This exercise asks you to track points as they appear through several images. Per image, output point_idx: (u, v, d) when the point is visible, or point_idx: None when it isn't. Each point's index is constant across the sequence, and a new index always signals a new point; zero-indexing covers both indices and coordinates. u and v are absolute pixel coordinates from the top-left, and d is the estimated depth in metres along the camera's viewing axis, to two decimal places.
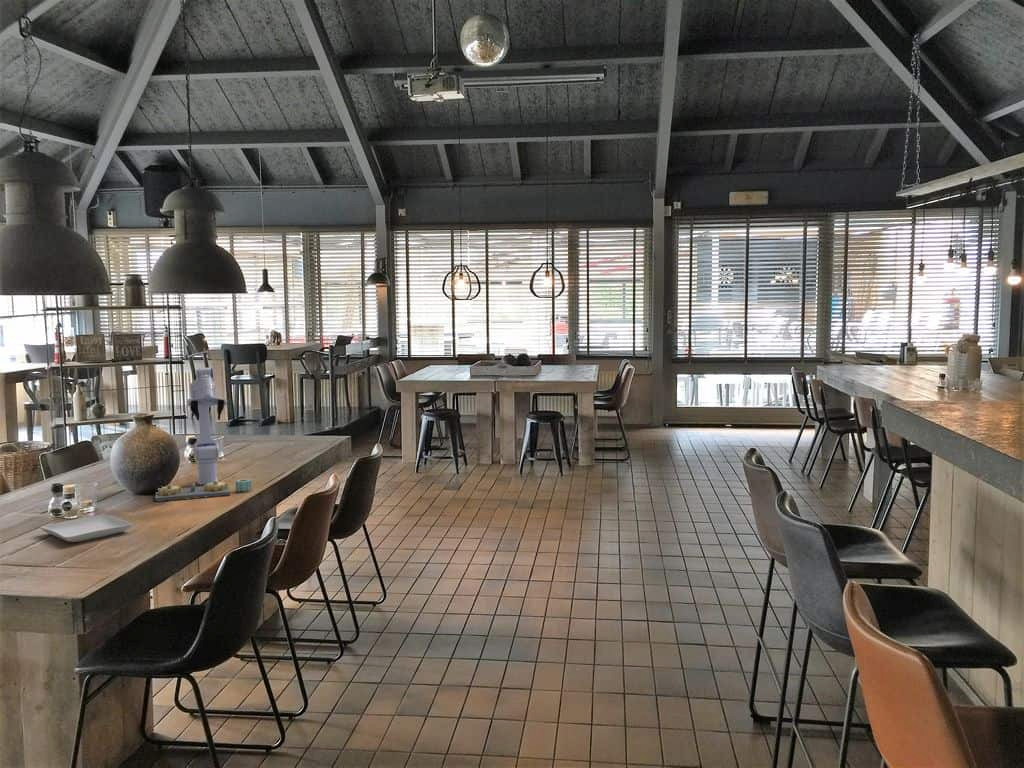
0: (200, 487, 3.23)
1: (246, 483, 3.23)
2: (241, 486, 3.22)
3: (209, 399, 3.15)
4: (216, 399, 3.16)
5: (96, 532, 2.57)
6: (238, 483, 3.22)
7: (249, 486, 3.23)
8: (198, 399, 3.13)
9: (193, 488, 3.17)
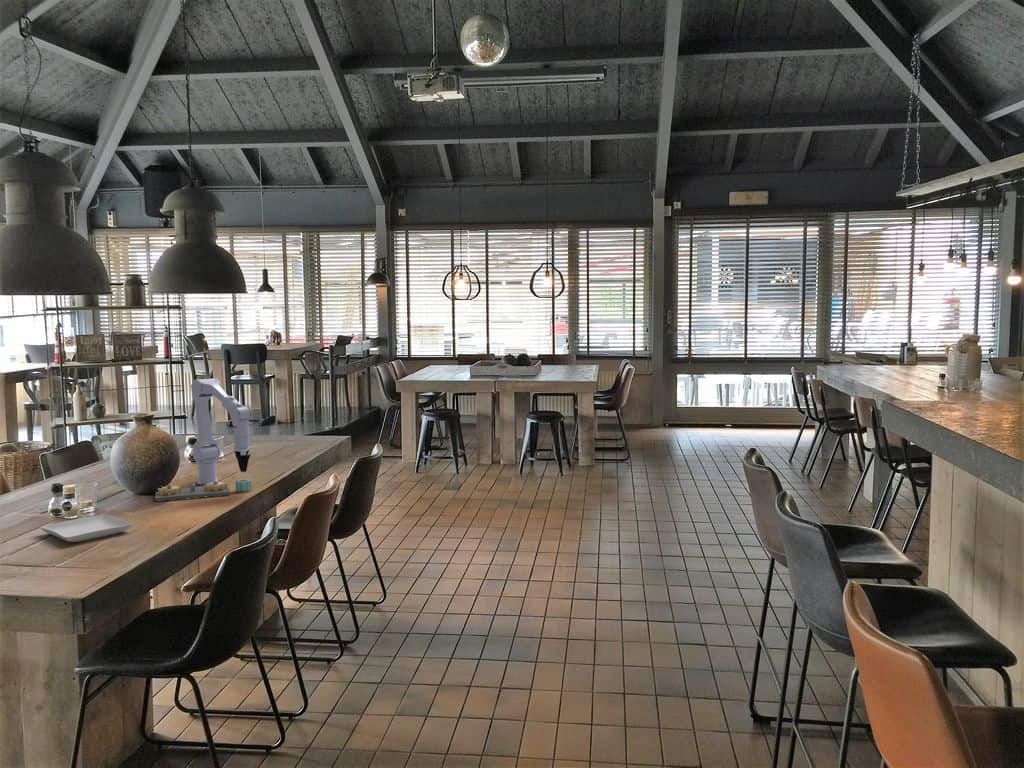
0: (200, 487, 3.23)
1: (246, 483, 3.23)
2: (241, 486, 3.22)
3: None
4: None
5: (96, 532, 2.57)
6: (238, 483, 3.22)
7: (249, 486, 3.23)
8: None
9: (193, 488, 3.17)
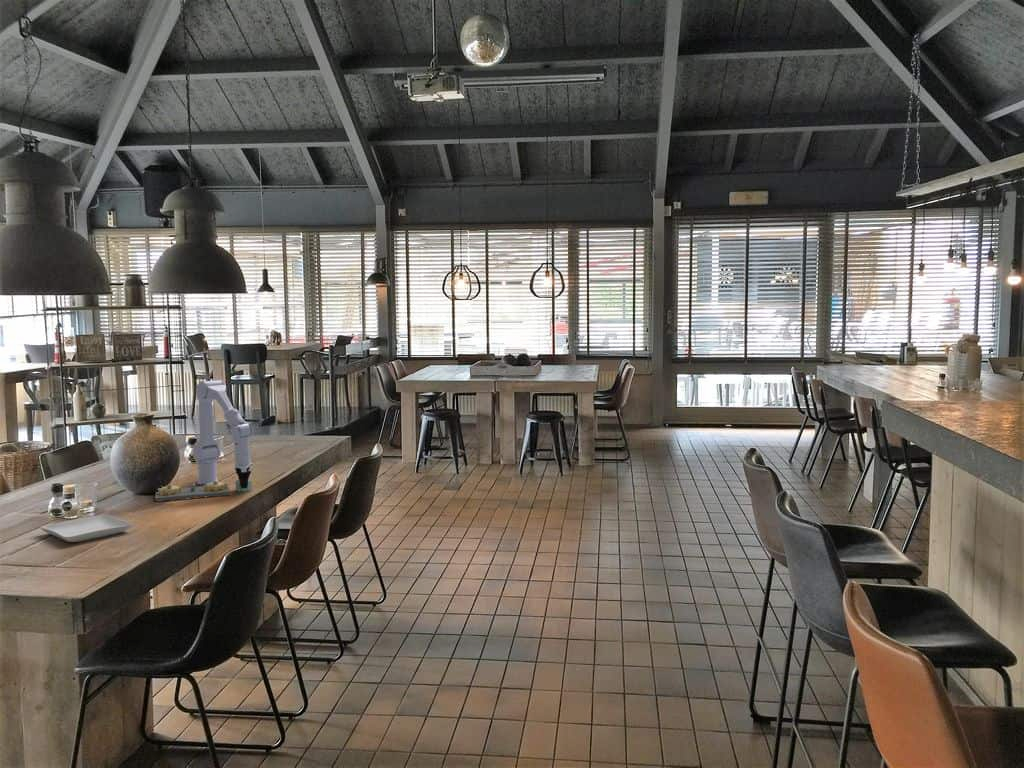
0: (200, 487, 3.23)
1: None
2: None
3: None
4: None
5: (96, 532, 2.57)
6: (238, 483, 3.22)
7: (249, 486, 3.23)
8: (247, 467, 3.21)
9: (193, 488, 3.17)
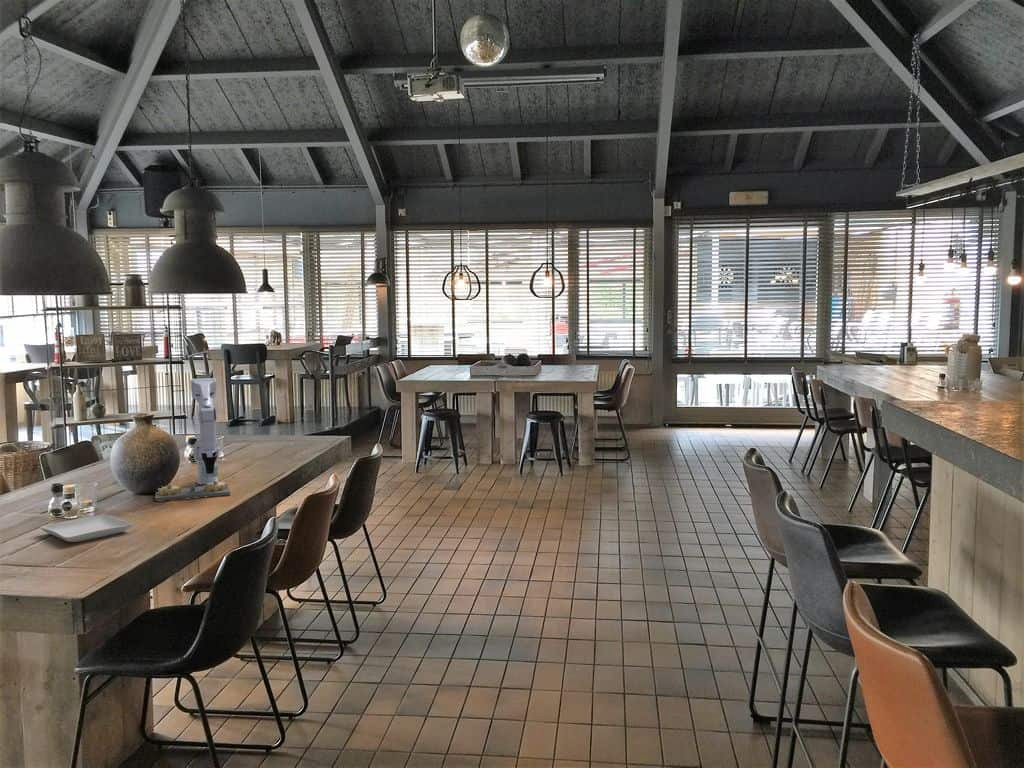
0: (200, 487, 3.23)
1: None
2: None
3: None
4: None
5: (96, 532, 2.57)
6: (204, 468, 3.16)
7: (215, 471, 3.18)
8: None
9: (193, 488, 3.17)
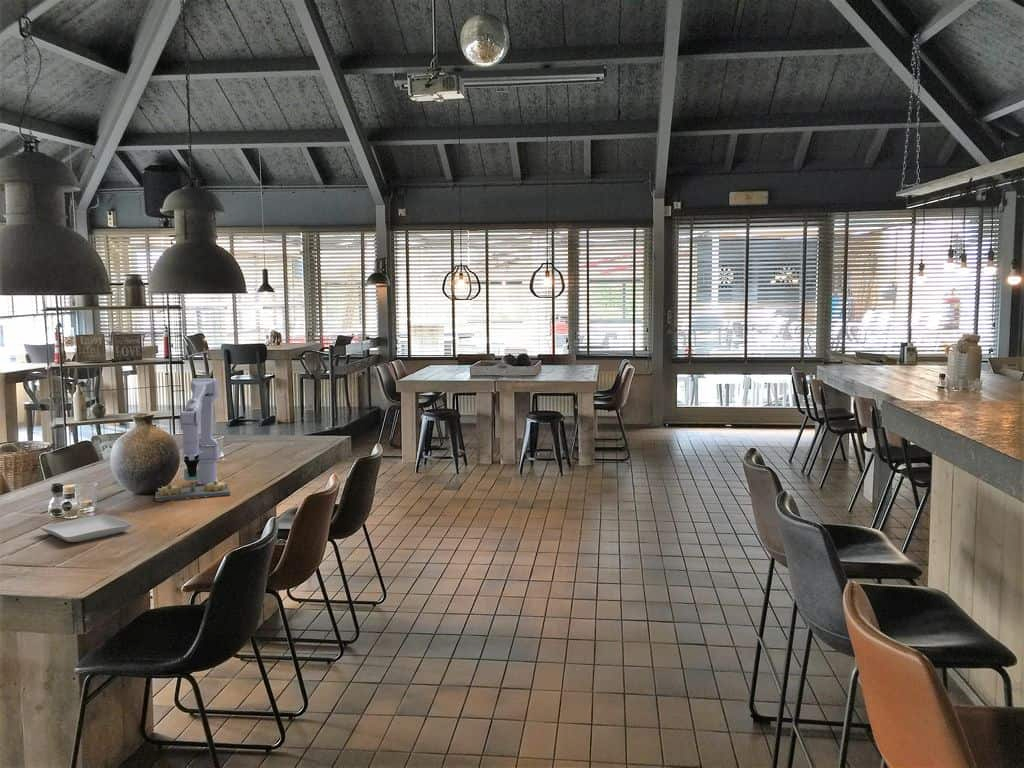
0: (200, 487, 3.23)
1: None
2: None
3: None
4: None
5: (96, 532, 2.57)
6: (186, 472, 3.14)
7: (198, 475, 3.16)
8: (195, 455, 3.13)
9: (193, 488, 3.17)
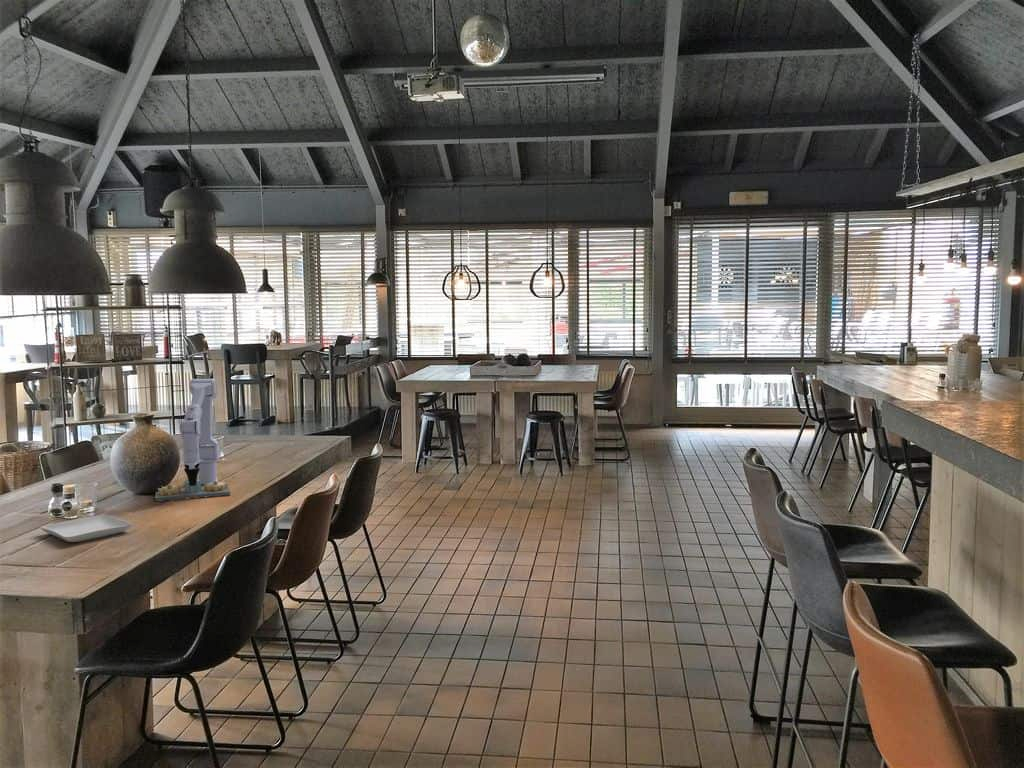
0: None
1: None
2: (190, 487, 3.15)
3: None
4: None
5: (96, 532, 2.57)
6: (187, 483, 3.14)
7: (198, 487, 3.16)
8: (196, 463, 3.14)
9: None
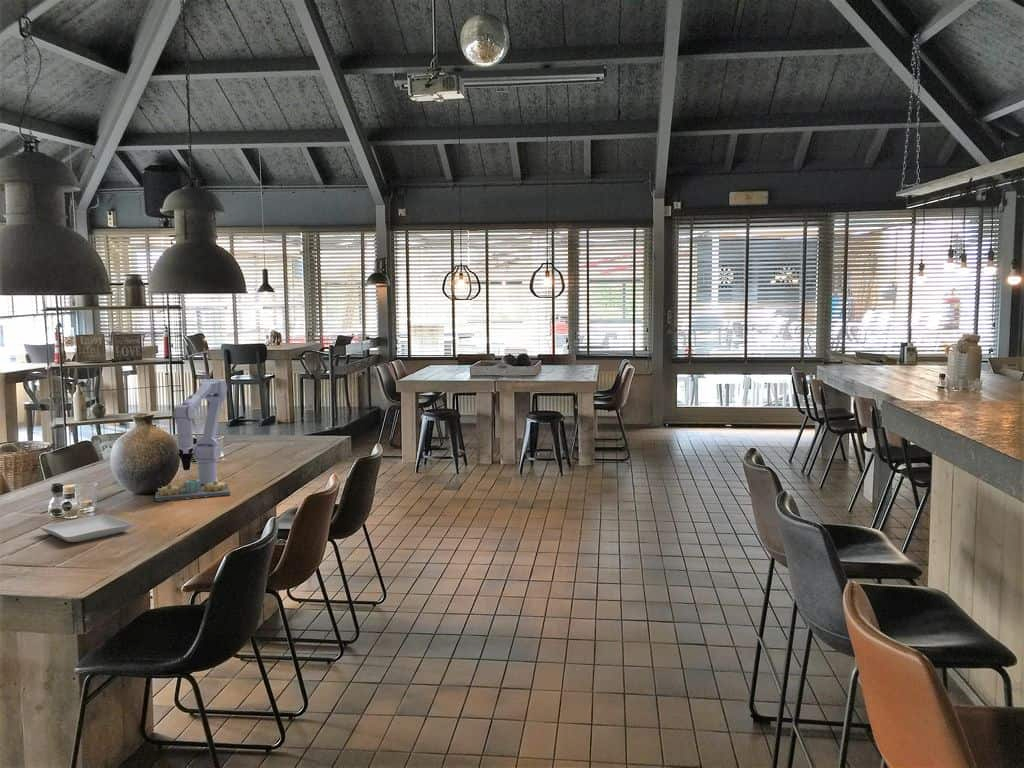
0: None
1: (195, 483, 3.15)
2: (190, 487, 3.15)
3: None
4: None
5: (96, 532, 2.57)
6: (187, 483, 3.14)
7: (198, 487, 3.16)
8: (189, 448, 3.19)
9: None
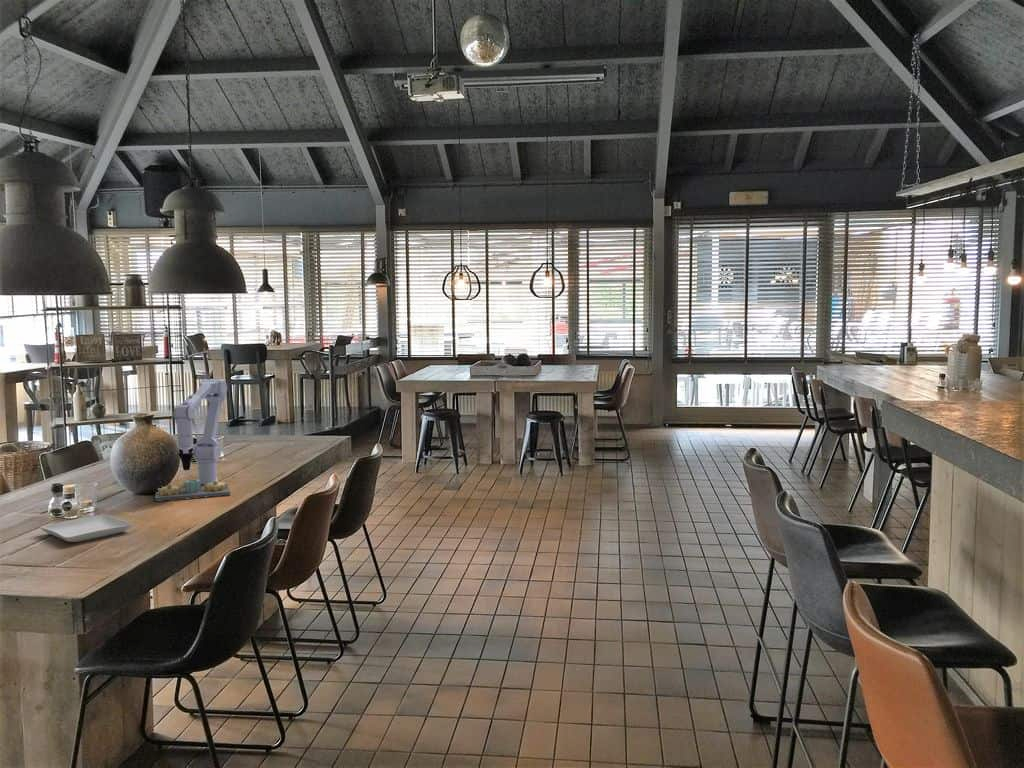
0: None
1: (195, 483, 3.15)
2: (190, 487, 3.15)
3: None
4: None
5: (96, 532, 2.57)
6: (187, 483, 3.14)
7: (198, 487, 3.16)
8: (189, 448, 3.19)
9: None
